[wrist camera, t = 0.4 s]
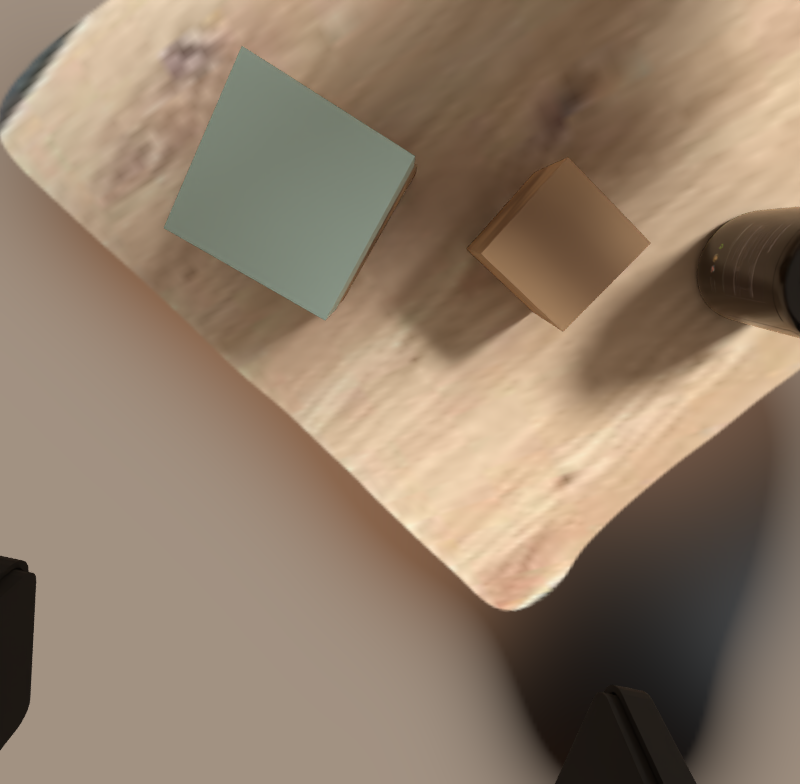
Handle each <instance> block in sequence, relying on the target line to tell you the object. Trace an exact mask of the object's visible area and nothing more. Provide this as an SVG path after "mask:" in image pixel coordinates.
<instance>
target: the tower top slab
mask: <svg viewBox="0 0 800 784" xmlns="http://www.w3.org/2000/svg"><path fill="white" fill-rule="evenodd" d="M414 162H415V156H414V155H412V154H411V153H409V152H408V151H406V150H405V149H403V148H401V147H400V146H398V145H397V144H395V143H394V142H392V141H391V140H389V139H387V138H386V137H384V136H383V135H381V134H380V133H378V132H376V131H375V130H373V129H372V128H370V127H369V126H367V125H365V124H364V123H362V122H361V121H359V120H358V119H356V118H354V117H353V116H351V115H350V114H348V113H347V112H345V111H343V110H342V109H340V108H339V107H337V106H336V105H334V104H332V103H331V102H329V101H328V100H326V99H325V98H323V97H321V96H320V95H318V94H317V93H315V92H314V91H312V90H310V89H309V88H307V87H306V86H304V85H303V84H301V83H299V82H298V81H296V80H295V79H293V78H292V77H290V76H288V75H287V74H285V73H284V72H282V71H281V70H279V69H277V68H276V67H274V66H273V65H271V64H270V63H268V62H266V61H265V60H263V59H262V58H260V57H259V56H257V55H255V54H254V53H252V52H251V51H249V50H248V49H246V48H244V47H243V46H242V47H241V49H240V51H239V54H238V56H237V58H236V61H235V63H234V65H233V68H232V70H231V72H230V75H229V77H228V79H227V82H226V84H225V86H224V89H223V91H222V93H221V96H220V98H219V100H218V103H217V105H216V107H215V110H214V112H213V114H212V117H211V119H210V121H209V124H208V126H207V128H206V131H205V133H204V135H203V138H202V140H201V142H200V145H199V147H198V149H197V152H196V154H195V156H194V158H193V161H192V163H191V165H190V168H189V170H188V172H187V175H186V177H185V179H184V182H183V184H182V186H181V189H180V191H179V193H178V196H177V198H176V200H175V203H174V205H173V207H172V210H171V212H170V214H169V217H168V219H167V221H166V224H165V226H164V229H166V230H168V231H170V232H171V233H173V234H175V235H177V236H178V237H180V238H182V239H184V240H185V241H187V242H189V243H191V244H192V245H194V246H196V247H198V248H199V249H201V250H203V251H205V252H206V253H208V254H210V255H212V256H213V257H215V258H217V259H219V260H220V261H222V262H224V263H226V264H227V265H229V266H231V267H232V268H234V269H236V270H238V271H239V272H241V273H243V274H245V275H246V276H248V277H250V278H252V279H253V280H255V281H257V282H259V283H260V284H262V285H264V286H266V287H267V288H269V289H271V290H273V291H274V292H276V293H278V294H280V295H281V296H283V297H285V298H287V299H288V300H290V301H292V302H294V303H295V304H297V305H299V306H301V307H302V308H304V309H306V310H308V311H309V312H311V313H313V314H315V315H316V316H318V317H320V318H322V319H323V320H326V319H327V318H328V317H329V316H330V315H331V314H332V313H333V312H334V311H335V310H336V308H337V306H338V304H339V303H340V301H341V299H342V297H343V295H344V293H345V292H346V290H347V288H348V286H349V284H350V282H351V281H352V279H353V277H354V275H355V273H356V271H357V270H358V268H359V266H360V264H361V262H362V261H363V259H364V257H365V255H366V253H367V251H368V250H369V248H370V246H371V244H372V242H373V240H374V239H375V237H376V235H377V233H378V231H379V229H380V228H381V226H382V224H383V222H384V220H385V219H386V217H387V215H388V213H389V211H390V209H391V208H392V206H393V204H394V202H395V200H396V198H397V197H398V195H399V193H400V191H401V189H402V187H403V186H404V184H405V182H406V180H407V178H408V177H409V175H410V173H411V171H412V169H413V167H414Z"/></svg>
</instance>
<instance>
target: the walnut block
mask: <svg viewBox="0 0 800 784" xmlns="http://www.w3.org/2000/svg"><path fill="white" fill-rule="evenodd" d="M649 244H650V242H649V241H648V240H647V239H646V238H645V237H644V235H643V234H642V233H641V232H640V231H639V230H638V229H637V228H636V227H635V226H634V225H633V224H632V223H631V222H630V221H629V220H628V219H627V218H626V217H625V216H624V215H623V214H622V213H621V212H620V210H619V209H618V208H617V207H616V206H615V205H614V204H613V203H612V202H611V201H610V200H609V199H608V198H607V197H606V196H605V195H604V194H603V193H602V192H601V191H600V190H599V189H598V188H597V187H596V185H595V184H594V183H593V182H592V181H591V180H590V179H589V178H588V177H587V176H586V175H585V174H584V173H583V172H582V171H581V170H580V169H579V168H578V167H577V166H576V165H575V164H574V163H573V162H572V160H571V159H570V158H569V157H567V158H565V159H563V160H561V161H559V162H556V163H554V164H552V165H550V166H547V167H545V168H543V169H541V170H539V171H536V172H535V173H534V174H533V175H532V176H531V177H530V178H529V179H528V180H527V182H526V183H525V184H524V185H523V186H522V187H521V188H520V189H519V191H518V192H517V193H516V194H515V195H514V196H513V197H512V198H511V199H510V201H509V202H508V203H507V204H506V205H505V206H504V207H503V208H502V210H501V211H500V212H499V213H498V214H497V215H496V216H495V217H494V219H493V220H492V221H491V222H490V223H489V224H488V225H487V226H486V228H485V229H484V230H483V231H482V232H481V233H480V234H479V235H478V237H477V238H476V239H475V240H474V241H473V242H472V243H471V244H470V246H469V247H468V248H467V250H468V251H469V252H470V253H471V254H472V255H473V256H474V257H475V258H476V259H478V260H479V261H480V262H481V263H482V264H483V265H484V266H485V267H486V268H487V269H488V270H489V271H490V272H491V273H492V274H493V275H494V276H495V277H497V278H498V279H499V280H500V281H501V282H502V283H503V284H504V285H505V286H506V287H507V288H508V289H509V290H510V291H511V292H512V293H513V294H515V295H516V296H517V297H518V298H519V299H520V300H521V301H522V302H523V303H524V304H525V305H526V306H527V307H528V308H529V309H530V310H531V311H533V312H534V313H535V314H537V315H538V316H540V317H541V318H543V319H545V320H546V321H548V322H549V323H551V324H552V325H554V326H555V327H557V328H558V329H560V330H561V331H564V330H565V329H566V328H567V327H568V326H569V325H570V324H571V323H572V322H573V321H574V320H575V319H576V318H577V317H578V316H579V315H580V314H581V313H582V312H583V311H584V310H585V309H586V308H587V307H588V306H589V305H590V304H591V303H592V302H593V301H594V300H595V299H596V298H597V297H598V296H599V295H600V294H601V293H602V292H603V291H604V290H605V289H606V288H607V287H608V286H609V285H610V284H611V283H612V282H613V281H614V280H615V279H616V278H617V277H618V276H619V275H620V274H621V273H622V272H623V271H624V270H625V269H626V268H627V267H628V266H629V265H630V264H631V263H632V262H633V261H634V260H635V259H636V258H637V257H638V256H639V255H640V254H641V252H642V251H643V250H644V249H645V248H646V247H647V246H648V245H649Z"/></svg>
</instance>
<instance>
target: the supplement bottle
mask: <svg viewBox="0 0 800 784" xmlns="http://www.w3.org/2000/svg"><path fill="white" fill-rule="evenodd" d="M697 281H698V287H699V290H700V293H701V296H702V297H703V299H704V301H705V302H706V304H707V305H708V306H709V307H710V308H711V309H712V310H713V311H714V312H716V313H717V314H719V315H721V316H723V317H725V318H727V319H730V320H734V321H737V322H740V323H744V324H748V325H752V326H755V327H759V328H763V329H767V330H771V331H774V332H778V333H782V334H786V335H790V336H794V337H797V338H800V207H791V208H778V209H767V210H759V211H753V212H748V213H745V214H742V215H740V216H737V217H736V218H734V219H732V220H730V221H729V222H727V223H726V224H724V225H723V226H722V227H721V228H719V229H718V230H717V231H716V232H715V233H714V234H713V236H712V237H711V238H710V239H709V241H708V242H707V244H706V246H705V248H704V249H703V252H702V254H701V257H700V260H699V264H698V270H697Z"/></svg>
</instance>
